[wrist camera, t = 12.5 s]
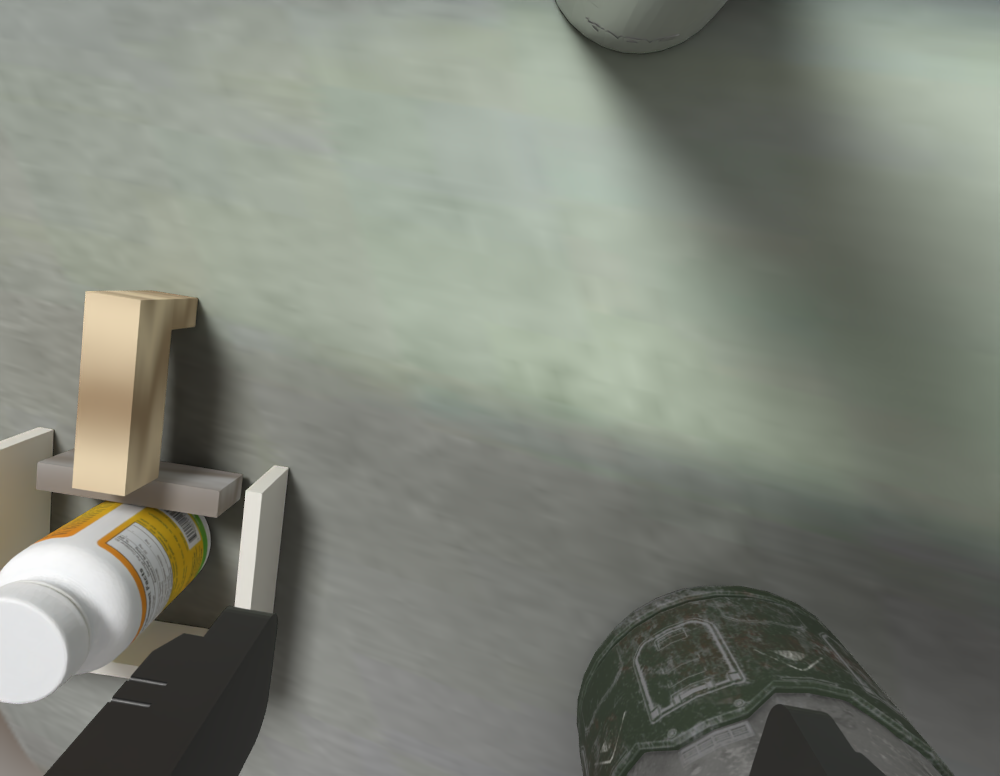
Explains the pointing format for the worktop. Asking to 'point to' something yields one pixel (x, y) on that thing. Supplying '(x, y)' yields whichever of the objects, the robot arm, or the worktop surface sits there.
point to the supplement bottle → (91, 592)
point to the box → (26, 519)
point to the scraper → (132, 411)
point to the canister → (728, 689)
